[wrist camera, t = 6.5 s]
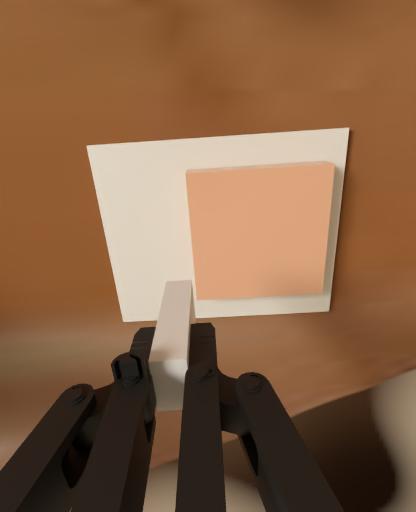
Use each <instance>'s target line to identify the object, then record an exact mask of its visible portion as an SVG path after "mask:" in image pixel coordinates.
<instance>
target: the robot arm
mask: <svg viewBox="0 0 416 512" xmlns="http://www.w3.org/2000/svg"><path fill="white" fill-rule="evenodd" d="M195 321H196V318H195V307H194V297H193V287H192V280H179V281H166V285H165V289H164V294H163V298H162V303H161V307H160V312H159V316H158V321H157V325H156V327H145V328H140V329H139V330H138V332H137V333H136V334H135V336H134V339H133V343H132V345H131V349H130V351H129V352H127V353H124V354H121V355H119V356H118V357H116V358H115V359H114V360H113V362H112V363H111V367H112V371H113V375H114V380H115V381H114V382H113V383H112V384H110V385H107V386H105V387H102V388H99V389H95V390H94V389H93V388H92V386H91V385H88V384H77V385H74V386H72V387H70V388H68V389H67V390H65V391H64V392H63V393H62V394H61V395H60V397H59V398H58V399H57V400H56V402H55V403H54V404H53V405H52V407H51V408H50V409H49V411H48V412H47V413H46V414H45V416H44V417H43V418H42V419H41V421H40V422H39V423H38V424H37V426H36V427H35V428H34V429H33V431H32V432H31V433H30V434H29V436H28V437H27V438H26V439H25V441H24V442H23V443H22V444H21V446H20V447H19V448H18V449H17V451H16V452H15V453H14V455H13V456H12V457H11V458H10V460H9V461H8V462H7V463H6V465H5V466H4V467H3V468H2V470H1V471H0V512H69V511H70V510H71V512H143V505H144V498H145V492H146V485H147V478H148V472H149V465H150V459H151V452H152V445H153V439H154V432H155V425H156V419H155V407H156V406H157V411H173V410H182V424H181V438H180V452H179V466H178V480H177V494H176V508H175V512H226V502H225V484H224V467H223V450H222V433H221V432H222V431H226V432H230V433H234V434H237V435H238V438H239V440H240V443H241V446H242V449H243V451H244V454H245V456H246V459H247V462H248V465H249V467H250V470H251V472H252V475H253V478H254V481H255V483H256V486H257V488H258V491H259V494H260V496H261V499H262V501H263V505H264V507H265V510H266V512H344V510H343V509H342V507H341V505H340V503H339V502H338V500H337V498H336V496H335V495H334V493H333V491H332V489H331V488H330V486H329V484H328V483H327V481H326V479H325V477H324V476H323V474H322V472H321V470H320V469H319V467H318V465H317V464H316V462H315V460H314V458H313V457H312V455H311V453H310V452H309V450H308V448H307V446H306V445H305V443H304V441H303V439H302V438H301V436H300V434H299V433H298V431H297V429H296V427H295V426H294V424H293V422H292V420H291V419H290V417H289V415H288V413H287V412H286V410H285V408H284V407H283V405H282V403H281V401H280V400H279V398H278V396H277V394H276V393H275V391H274V389H273V388H272V386H271V384H270V382H269V381H268V380H267V379H266V377H265V376H263V375H261V374H259V373H254V372H249V373H245V374H242V375H241V376H240V377H239V378H238V379H235V378H231V377H228V376H226V375H224V374H222V373H221V372H220V370H219V369H218V366H217V352H216V337H215V328H214V327H213V325H212V324H211V323H196V324H195ZM221 430H222V431H221ZM71 508H72V509H71Z"/></svg>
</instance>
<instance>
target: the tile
mask: <svg viewBox="0 0 416 512" xmlns="http://www.w3.org/2000/svg"><path fill="white" fill-rule="evenodd" d="M334 169H335V163H332V162H329V161H313V162H298V163H282V164H267V165H252V166H237V167H221V168H206V169H191V170H187V171H186V173H185V176H186V187H187V198H188V208H189V219H190V230H191V241H192V252H193V263H194V274H195V285H196V296H197V300H212V299H231V298H250V297H269V296H287V295H306V294H322V291H323V281H324V271H325V261H326V250H327V240H328V230H329V220H330V209H331V199H332V189H333V179H334Z"/></svg>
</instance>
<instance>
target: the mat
mask: <svg viewBox="0 0 416 512" xmlns="http://www.w3.org/2000/svg"><path fill="white" fill-rule="evenodd" d="M348 135H349V128H335V129H321V130H306V131H291V132H277V133H262V134H248V135H233V136H218V137H204V138H189V139H174V140H160V141H145V142H131V143H116V144H101V145H88V146H87V150H88V155H89V160H90V165H91V169H92V174H93V179H94V184H95V188H96V193H97V198H98V203H99V208H100V212H101V217H102V222H103V227H104V231H105V236H106V241H107V246H108V250H109V255H110V260H111V265H112V270H113V274H114V279H115V284H116V289H117V293H118V298H119V303H120V308H121V312H122V317H123V322H133V321H152V320H158V316H159V312H160V307H161V303H162V298H163V294H164V289H165V285H166V281H179V280H192V287H193V297H194V307H195V318H210V317H230V316H249V315H268V314H288V313H307V312H326V311H329V307H330V298H331V289H332V280H333V271H334V262H335V253H336V244H337V234H338V225H339V216H340V207H341V198H342V189H343V180H344V171H345V162H346V153H347V144H348ZM313 161H329V162H332V163H335V169H334V179H333V189H332V199H331V209H330V220H329V230H328V240H327V250H326V261H325V271H324V281H323V291H322V294H306V295H287V296H269V297H250V298H231V299H212V300H197V296H196V285H195V274H194V263H193V252H192V241H191V230H190V219H189V208H188V198H187V187H186V176H185V173H186V171H187V170H191V169H206V168H221V167H237V166H252V165H267V164H282V163H298V162H313Z"/></svg>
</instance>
